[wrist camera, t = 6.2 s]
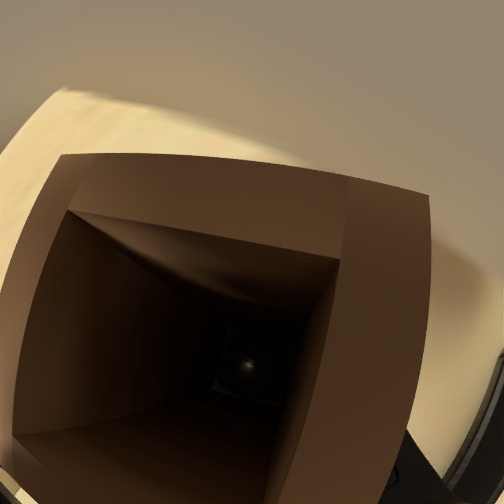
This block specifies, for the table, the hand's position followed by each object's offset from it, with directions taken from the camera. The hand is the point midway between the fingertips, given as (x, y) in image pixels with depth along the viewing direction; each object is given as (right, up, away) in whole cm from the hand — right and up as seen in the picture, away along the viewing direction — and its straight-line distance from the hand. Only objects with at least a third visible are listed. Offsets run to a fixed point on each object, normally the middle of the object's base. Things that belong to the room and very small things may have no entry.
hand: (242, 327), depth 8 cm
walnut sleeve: (0, -3, +5) cm, 6 cm away
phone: (+17, -12, +1) cm, 21 cm away
